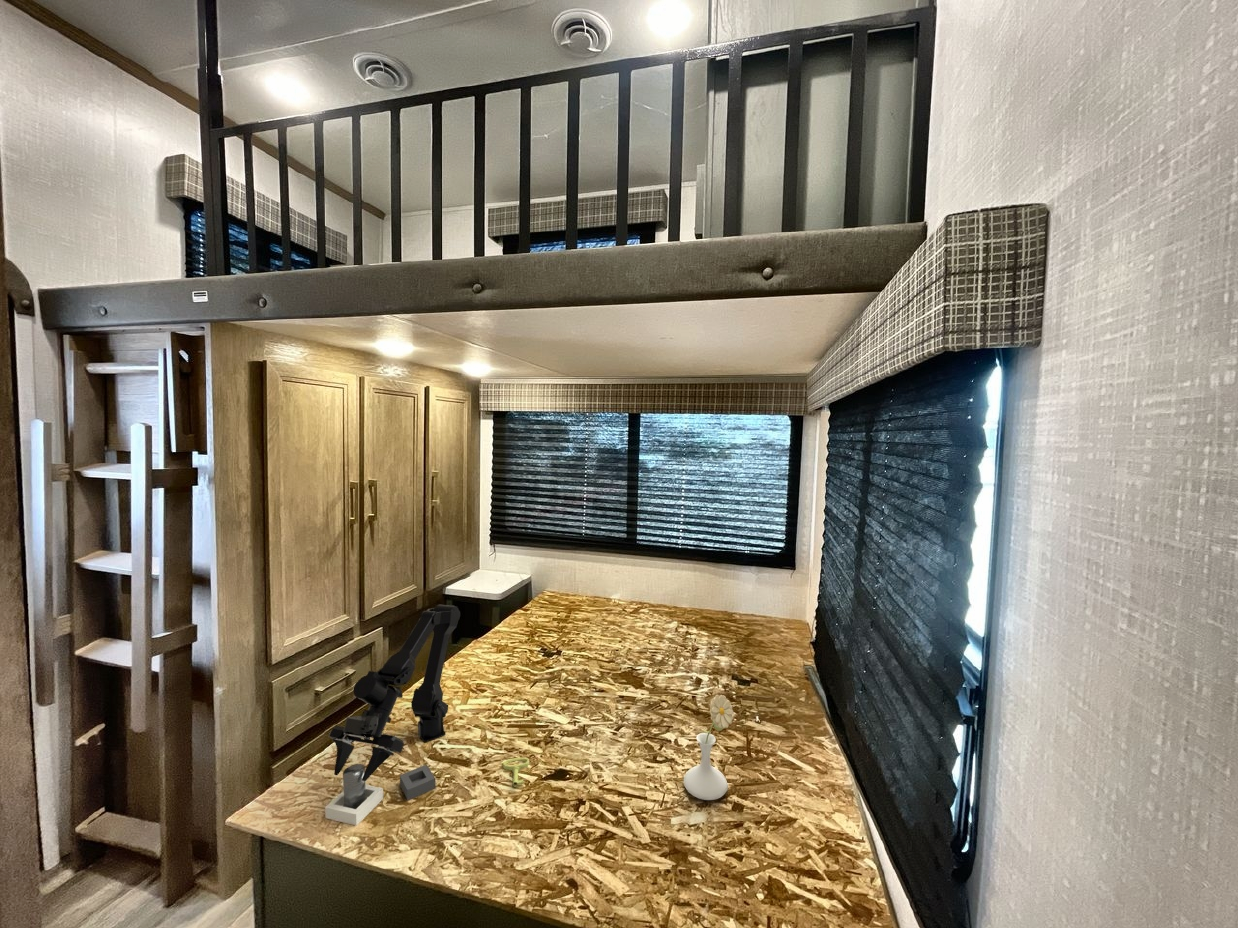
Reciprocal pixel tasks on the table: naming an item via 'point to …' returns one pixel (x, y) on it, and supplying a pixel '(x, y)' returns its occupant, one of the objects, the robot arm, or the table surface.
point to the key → (516, 768)
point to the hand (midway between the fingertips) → (349, 777)
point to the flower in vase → (704, 777)
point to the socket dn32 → (417, 782)
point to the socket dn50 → (354, 815)
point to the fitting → (354, 786)
